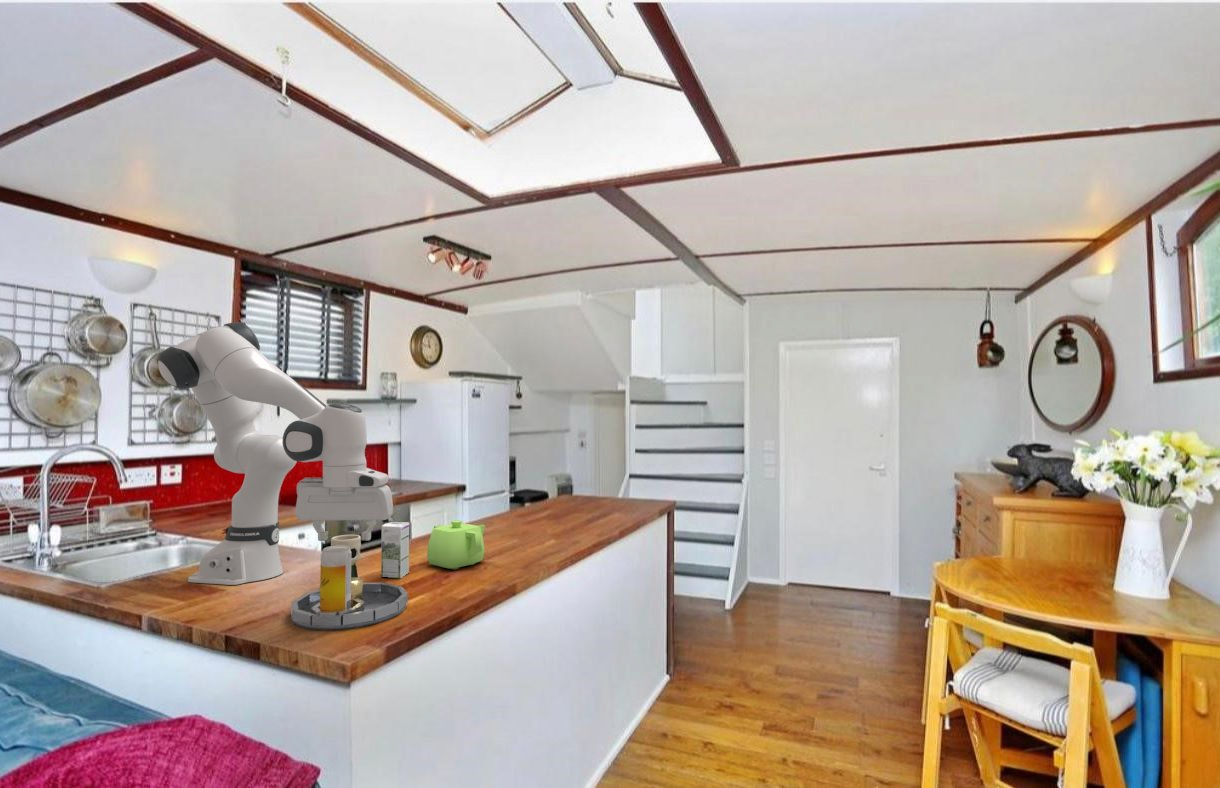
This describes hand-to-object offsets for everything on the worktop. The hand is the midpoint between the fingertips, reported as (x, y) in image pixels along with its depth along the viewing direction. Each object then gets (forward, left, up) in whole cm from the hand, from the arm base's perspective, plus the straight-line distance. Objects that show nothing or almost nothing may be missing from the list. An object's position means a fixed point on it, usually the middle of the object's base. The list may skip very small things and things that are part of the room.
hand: (344, 540), depth 132 cm
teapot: (+14, +48, -18) cm, 54 cm away
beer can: (-1, -2, -17) cm, 17 cm away
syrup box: (-1, +34, -18) cm, 39 cm away
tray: (-1, +5, -17) cm, 18 cm away
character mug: (-10, +23, -18) cm, 31 cm away
